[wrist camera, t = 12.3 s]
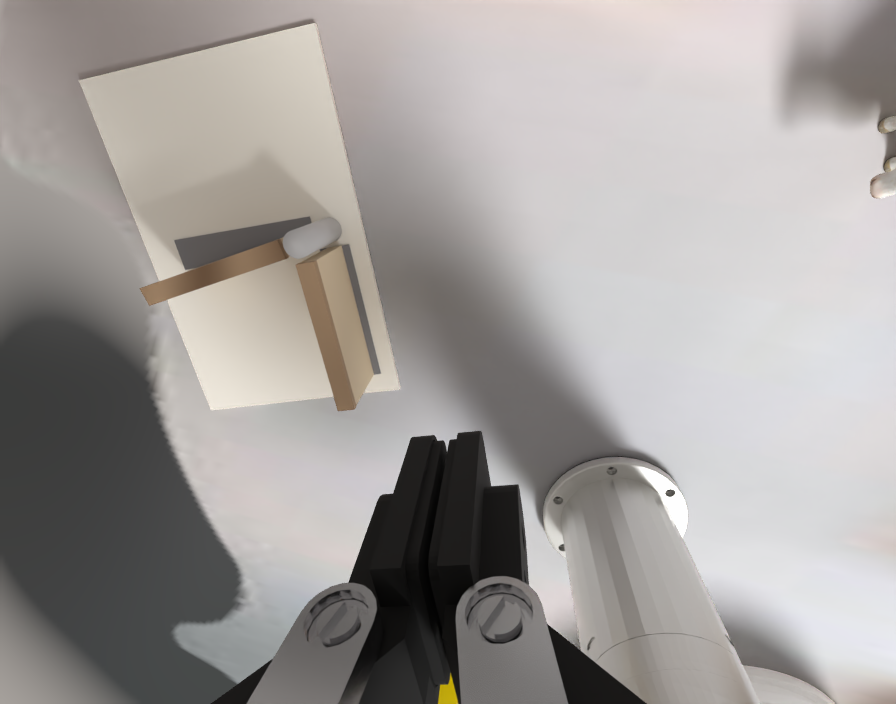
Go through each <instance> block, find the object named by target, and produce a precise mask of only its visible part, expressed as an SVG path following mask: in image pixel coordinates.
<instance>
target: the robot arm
mask: <svg viewBox="0 0 896 704" xmlns="http://www.w3.org/2000/svg"><path fill="white" fill-rule="evenodd" d="M543 522H544V529H545V532H546V535H547V538H548V540H549V542H550V543H551V545H552V546H553V548H554V549H555V550H556V551H557V552H558V553H559V554H560V555H561V556H562V557H564V558H565V559H566V560H567V566H568V572H569V579H570V585H571V591H572V598H573V604H574V610H575V616H576V623H577V629H578V635H579V642H580V648H581V651H580V650H579V649H578V648H577V647H575V646H574V645H573V644H572V643H570V642H569V641H568V640H567V639H565V638H564V637H563V636H562V635H560V634H559V633H558V632H556V631H555V630H554V629H553V628H551V627H550V626H549V625H548V624H547V622H546V618H545V615H544V611H543V607H542V604H541V602H540V599H539V597H538V595H537V593H536V592H535V591H534V590H533V589H532V588H531V587H530V586H529V581H528V565H527V550H526V538H525V528H524V519H523V511H522V504H521V497H520V491H519V486H518V485H505V486H491V483H490V477H489V471H488V465H487V459H486V453H485V447H484V441H483V436H482V432H481V431H474V432H463V433H458V435H457V439H454V440H450V441H449V446H448V451H447V450H446V446H445V442H444V441H437V439H436V437H435V436H434V435H431V436H420V437H412V438H411V440H410V443H409V446H408V449H407V452H406V455H405V458H404V461H403V465H402V468H401V471H400V474H399V477H398V480H397V483H396V487H395V490H394V493H393V494H383V495H381V496H380V497H379V499H378V501H377V504H376V507H375V510H374V513H373V515H372V518H371V521H370V524H369V527H368V529H367V532H366V535H365V538H364V541H363V543H362V546H361V549H360V552H359V555H358V557H357V560H356V563H355V566H354V569H353V571H352V574H351V577H350V580H349V583H342V584H338V585H335V586H332V587H329V588H328V589H326V590H324V591H322V592H320V593H319V594H317V595H316V596H315V597H314V598H313V599H312V600H310V601H309V602H308V604H307V605H306V606H305V607H304V609H303V610H302V611H301V613H300V614H299V616H298V618H297V619H296V621H295V623H294V625H293V626H292V628H291V630H290V631H289V633H288V635H287V636H286V638H285V640H284V641H283V643H282V645H281V646H280V648H279V650H278V652H277V653H276V655H275V657H274V658H273V659H272V660H271V661H269V662H268V663H266V664H265V665H264V666H262V667H261V668H259V669H258V670H257V671H255V672H254V673H253V674H251V675H250V676H248V677H247V678H246V679H244V680H243V681H242V682H240V683H239V684H237V685H236V686H235V687H233V688H232V689H231V690H229V691H228V692H226V693H225V694H224V695H222V696H221V697H220V698H218V699H217V700H215V701H214V702H213V703H211V704H438V700H439V691H440V685H448V684H449V681H450V673H451V676H452V680H453V684H454V688H455V692H456V696H457V700H458V704H761V703H760V700H759V698H758V696H757V694H756V692H755V690H754V688H753V686H752V684H751V682H750V679H749V677H748V675H747V673H746V671H745V669H744V667H743V665H742V663H741V661H740V659H739V657H738V654H737V652H736V650H735V648H734V646H733V644H732V641H731V639H730V637H729V635H728V633H727V631H726V629H725V627H724V625H723V622H722V620H721V618H720V616H719V614H718V612H717V610H716V608H715V605H714V603H713V601H712V599H711V597H710V595H709V593H708V591H707V589H706V586H705V584H704V582H703V580H702V578H701V576H700V574H699V572H698V570H697V567H696V565H695V563H694V561H693V559H692V557H691V555H690V553H689V550H688V548H687V546H686V544H685V542H684V540H683V535H684V533H685V530H686V528H687V523H688V508H687V504H686V501H685V498H684V496H683V494H682V492H681V490H680V489H679V487H678V485H677V484H676V483H675V481H674V480H673V479H672V478H671V477H670V476H669V475H668V474H667V473H665V472H664V471H663V470H661V469H660V468H658V467H656V466H654V465H652V464H650V463H648V462H645V461H641V460H638V459H634V458H625V457H606V458H601V459H595V460H591V461H588V462H586V463H583V464H580V465H578V466H576V467H574V468H573V469H571V470H569V471H567V472H566V473H565V474H564V475H563V476H561V477H560V478H559V479H558V480H557V481H556V482H555V484H554V485H553V486H552V487H551V489H550V491H549V492H548V494H547V496H546V498H545V502H544V507H543Z"/></svg>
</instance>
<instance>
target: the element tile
mask: <svg viewBox="0 0 896 704" xmlns="http://www.w3.org/2000/svg"><path fill="white" fill-rule="evenodd" d="M438 704H458V700H457V696H456V692H455V688H454V684H453V680H452V676H451V673H450V681H449V684H448V685H440V691H439V700H438Z"/></svg>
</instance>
